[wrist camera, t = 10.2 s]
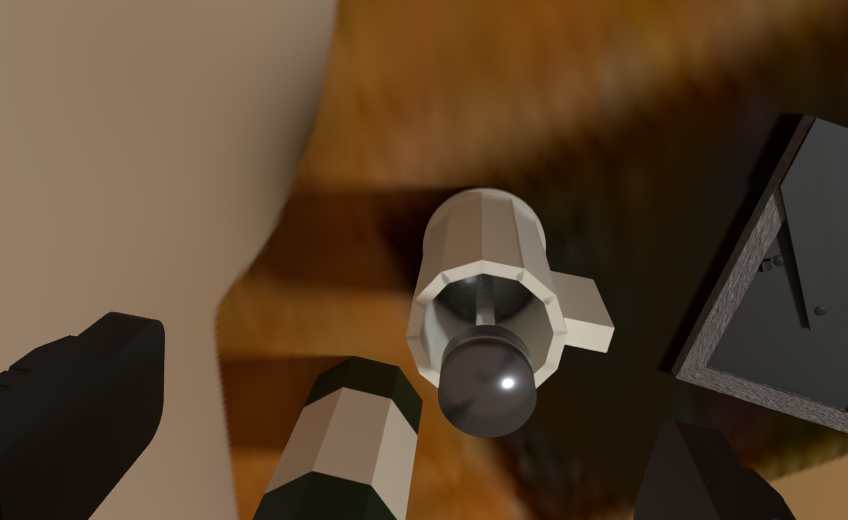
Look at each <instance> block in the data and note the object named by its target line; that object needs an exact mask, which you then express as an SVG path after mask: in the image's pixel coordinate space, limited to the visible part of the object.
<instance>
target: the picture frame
mask: <svg viewBox="0 0 848 520" xmlns="http://www.w3.org/2000/svg"><path fill="white" fill-rule="evenodd" d="M672 372H673V374H674V376H675V378H677V379H680V380H683V381H686V382H689V383H693V384H696V385H699V386H702V387H705V388H708V389H711V390H715V391H718V392H721V393H724V394H727V395H730V396H733V397H736V398H740V399H743V400H746V401H749V402H752V403H755V404H758V405H762V406H765V407H768V408H771V409H774V410H777V411H780V412H783V413H787V414H790V415H793V416H796V417H799V418H802V419H805V420H808V421H812V422H815V423H818V424H821V425H824V426H827V427H830V428H834V429H837V430H840V431H843V432H846V433H848V128H846V127H843V126H840V125H837V124H834V123H831V122H828V121H825V120H822V119H819V118H816V117H813V116H809V115H806V114H804V115H803V117H802V119H801V121H800V123H799V125H798V127H797V129H796V131H795V132H794V134H793V136H792V138H791V140H790V142H789V144H788V146H787V148H786V150H785V152H784V154H783V156H782V158H781V159H780V161H779V163H778V165H777V167H776V169H775V171H774V173H773V175H772V177H771V179H770V181H769V183H768V185H767V186H766V188H765V190H764V192H763V194H762V196H761V198H760V200H759V202H758V204H757V206H756V208H755V210H754V212H753V213H752V215H751V217H750V219H749V221H748V223H747V225H746V227H745V229H744V231H743V233H742V235H741V237H740V239H739V240H738V242H737V244H736V246H735V248H734V250H733V252H732V254H731V256H730V258H729V260H728V262H727V264H726V266H725V267H724V269H723V271H722V273H721V275H720V277H719V279H718V281H717V283H716V285H715V287H714V289H713V291H712V292H711V294H710V296H709V298H708V300H707V302H706V304H705V306H704V308H703V310H702V312H701V314H700V316H699V318H698V319H697V321H696V323H695V325H694V327H693V329H692V331H691V333H690V335H689V337H688V339H687V341H686V343H685V345H684V346H683V348H682V350H681V352H680V354H679V356H678V358H677V360H676V362H675V364H674V366H673V368H672Z"/></svg>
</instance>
